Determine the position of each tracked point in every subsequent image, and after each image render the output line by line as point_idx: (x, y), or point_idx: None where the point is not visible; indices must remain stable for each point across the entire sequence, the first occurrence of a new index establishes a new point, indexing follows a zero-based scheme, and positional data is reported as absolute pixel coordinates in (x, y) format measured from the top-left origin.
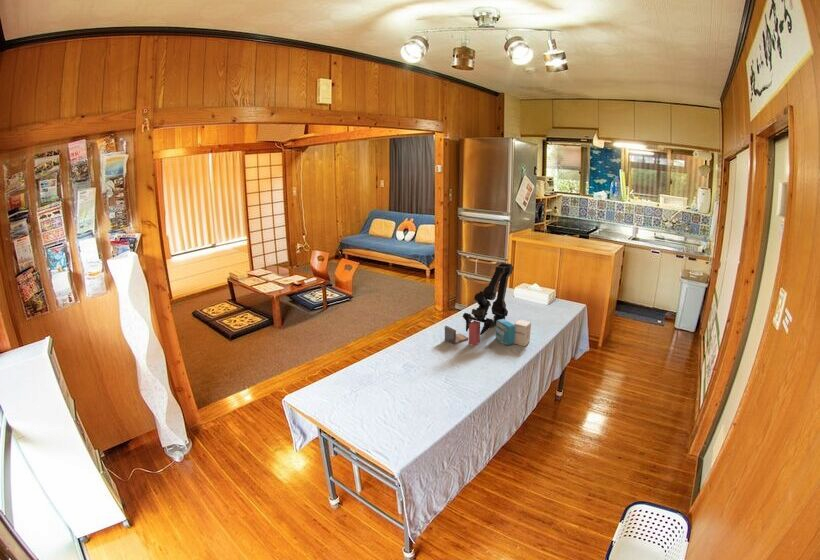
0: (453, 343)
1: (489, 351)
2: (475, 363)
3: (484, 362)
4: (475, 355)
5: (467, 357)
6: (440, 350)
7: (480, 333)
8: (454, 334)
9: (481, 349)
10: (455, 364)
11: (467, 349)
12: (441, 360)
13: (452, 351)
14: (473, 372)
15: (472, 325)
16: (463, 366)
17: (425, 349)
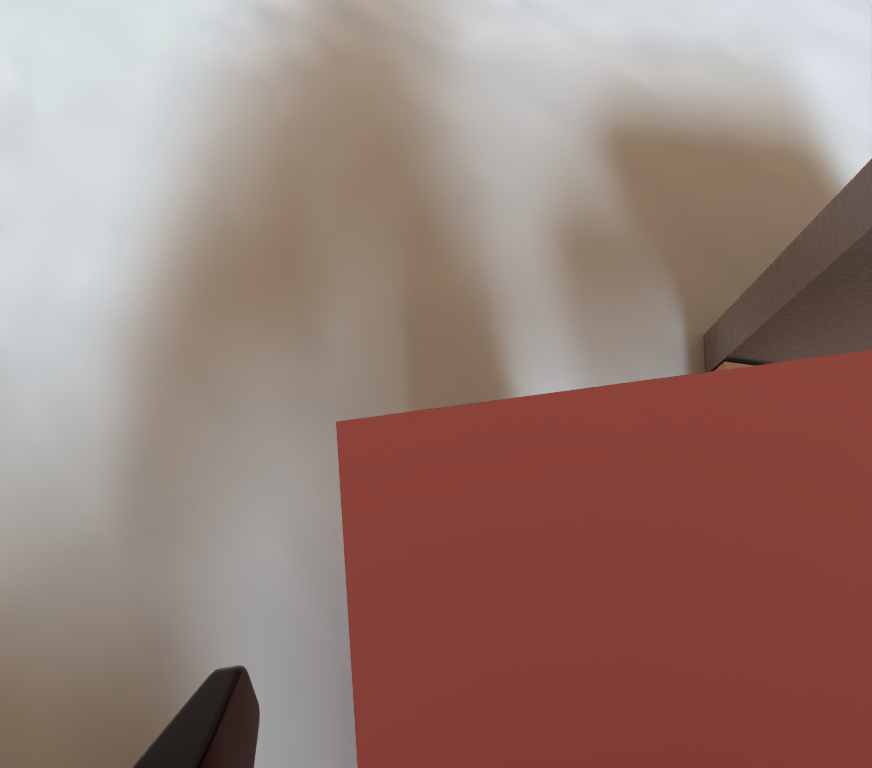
0: (726, 320)
1: (69, 563)
2: (129, 151)
3: (28, 230)
4: (226, 297)
5: (293, 195)
6: (691, 124)
7: (224, 695)
8: (848, 202)
9: (237, 527)
10: (320, 27)
11: (437, 365)
12: (494, 2)
13: (560, 191)
14: (73, 27)
15: (622, 393)
16: (223, 44)
17: (830, 47)
